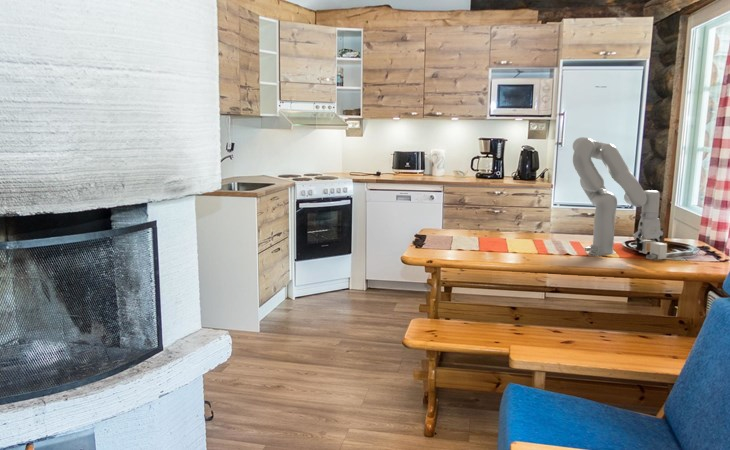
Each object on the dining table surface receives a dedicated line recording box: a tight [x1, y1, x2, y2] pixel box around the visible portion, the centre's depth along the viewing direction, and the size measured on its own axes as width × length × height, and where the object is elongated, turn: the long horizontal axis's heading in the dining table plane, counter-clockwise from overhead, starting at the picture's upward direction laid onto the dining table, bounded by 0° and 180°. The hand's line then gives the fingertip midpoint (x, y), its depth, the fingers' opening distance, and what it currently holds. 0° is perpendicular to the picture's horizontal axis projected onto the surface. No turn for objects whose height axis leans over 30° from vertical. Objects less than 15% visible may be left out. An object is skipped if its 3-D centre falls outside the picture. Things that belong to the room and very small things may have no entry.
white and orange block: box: [638, 239, 656, 255], centre depth 283 cm, size 5×6×7 cm
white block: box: [649, 242, 668, 260], centre depth 271 cm, size 5×6×7 cm
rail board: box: [642, 250, 696, 261], centre depth 274 cm, size 26×7×3 cm, turn 107°
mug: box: [646, 227, 666, 244], centre depth 302 cm, size 12×8×9 cm, turn 83°
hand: (647, 249), depth 283 cm, fingers open, 9 cm apart
